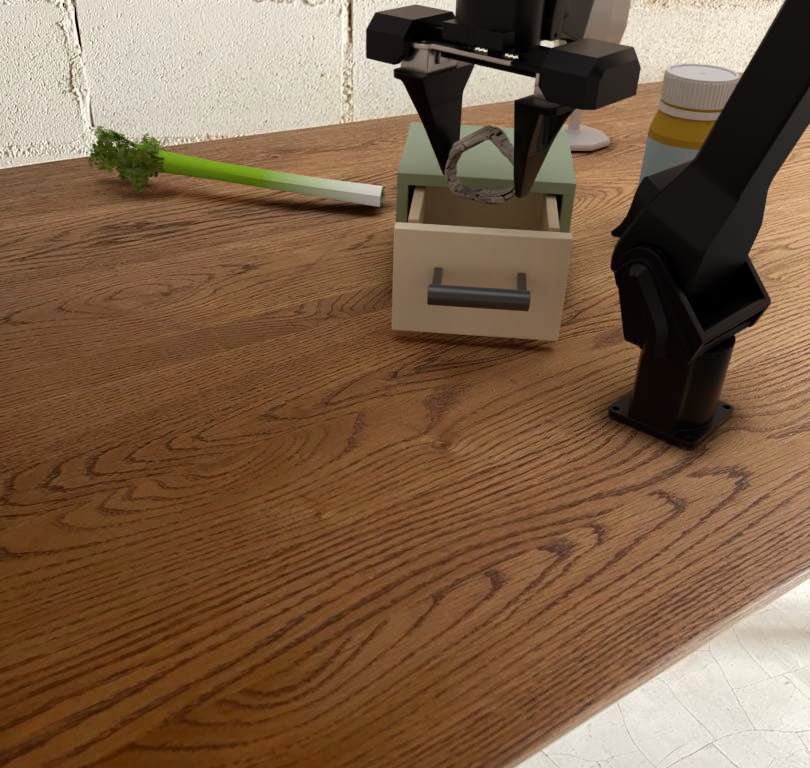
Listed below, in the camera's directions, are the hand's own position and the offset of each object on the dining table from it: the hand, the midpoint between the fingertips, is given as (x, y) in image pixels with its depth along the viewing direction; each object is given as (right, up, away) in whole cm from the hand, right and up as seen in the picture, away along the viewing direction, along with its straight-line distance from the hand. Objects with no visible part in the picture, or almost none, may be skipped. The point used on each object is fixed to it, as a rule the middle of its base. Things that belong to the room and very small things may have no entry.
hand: (484, 185), depth 67 cm
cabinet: (+1, -1, +16) cm, 16 cm away
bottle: (+19, +2, +21) cm, 28 cm away
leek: (-23, +9, +27) cm, 36 cm away
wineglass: (+14, +22, +45) cm, 52 cm away
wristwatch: (0, -1, +1) cm, 1 cm away
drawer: (0, -8, +6) cm, 10 cm away
